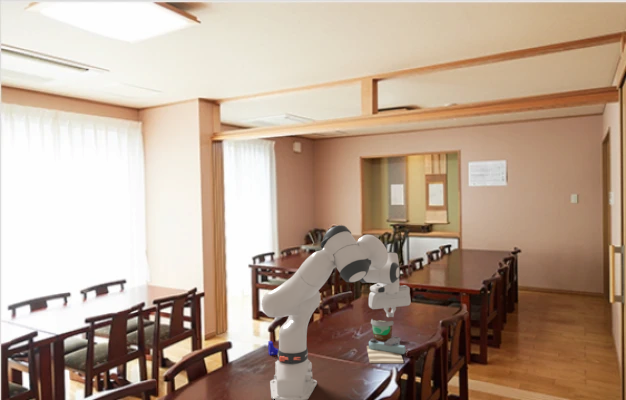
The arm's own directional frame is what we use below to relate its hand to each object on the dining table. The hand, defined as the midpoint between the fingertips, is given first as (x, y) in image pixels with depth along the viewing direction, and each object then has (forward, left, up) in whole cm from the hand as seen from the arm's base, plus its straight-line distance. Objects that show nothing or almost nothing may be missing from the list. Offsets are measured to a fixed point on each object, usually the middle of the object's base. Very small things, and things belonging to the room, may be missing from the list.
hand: (390, 316), depth 202 cm
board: (+5, +2, -19) cm, 20 cm away
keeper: (+9, -2, -19) cm, 21 cm away
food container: (+27, +2, -20) cm, 34 cm away
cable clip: (+9, +52, -20) cm, 56 cm away
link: (+8, +1, -18) cm, 20 cm away
